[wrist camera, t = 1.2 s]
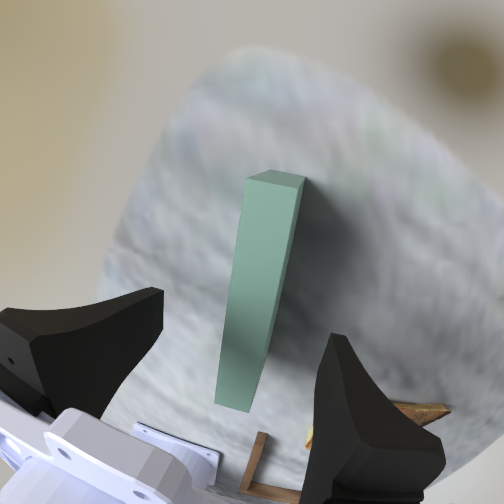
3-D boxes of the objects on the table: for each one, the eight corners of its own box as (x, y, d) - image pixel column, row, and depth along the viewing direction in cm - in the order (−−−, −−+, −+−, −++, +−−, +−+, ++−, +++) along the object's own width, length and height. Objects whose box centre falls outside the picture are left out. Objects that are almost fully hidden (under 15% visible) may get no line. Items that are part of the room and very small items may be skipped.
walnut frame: (241, 482, 28) (238, 492, 26) (258, 431, 24) (254, 444, 22) (376, 501, 25) (376, 511, 24) (422, 453, 21) (424, 465, 20)
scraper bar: (267, 351, 21) (249, 412, 16) (240, 344, 21) (213, 403, 16) (305, 176, 17) (298, 188, 11) (270, 169, 17) (245, 178, 12)
